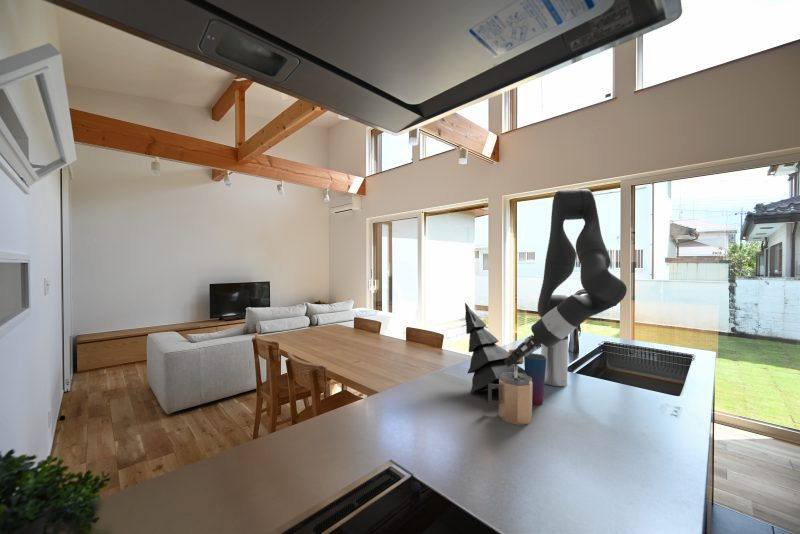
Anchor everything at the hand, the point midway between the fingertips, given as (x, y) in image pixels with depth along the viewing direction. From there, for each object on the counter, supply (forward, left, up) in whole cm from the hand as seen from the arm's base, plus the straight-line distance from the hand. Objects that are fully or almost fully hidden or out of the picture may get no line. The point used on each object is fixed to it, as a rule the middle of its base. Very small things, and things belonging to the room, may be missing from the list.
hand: (509, 361), depth 99 cm
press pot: (+1, 0, -16) cm, 16 cm away
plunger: (+2, +1, -15) cm, 15 cm away
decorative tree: (-20, +2, -16) cm, 25 cm away
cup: (-7, +13, -16) cm, 22 cm away
